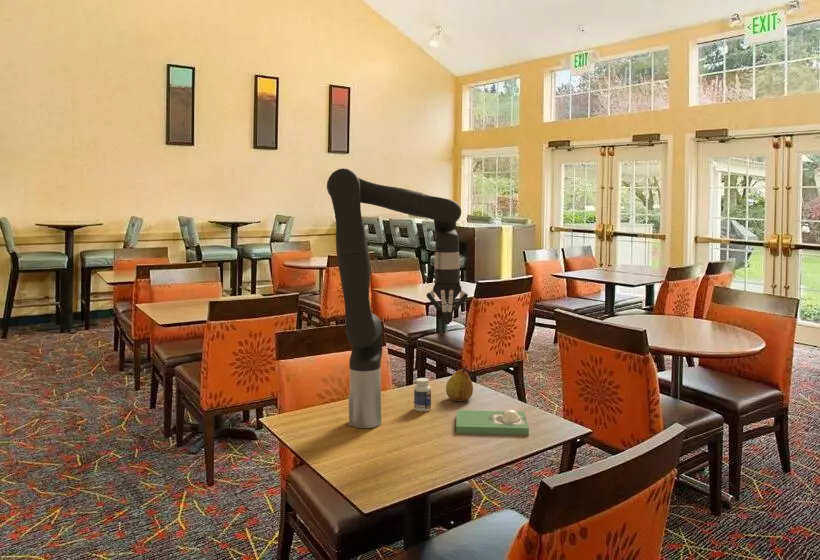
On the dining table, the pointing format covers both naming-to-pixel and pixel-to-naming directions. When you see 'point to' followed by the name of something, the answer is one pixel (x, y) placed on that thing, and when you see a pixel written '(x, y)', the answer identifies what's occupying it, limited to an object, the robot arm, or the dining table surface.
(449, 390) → the fruit
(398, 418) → the dining table surface
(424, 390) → the pill bottle
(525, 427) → the green flat block
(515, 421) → the ball
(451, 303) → the robot arm
